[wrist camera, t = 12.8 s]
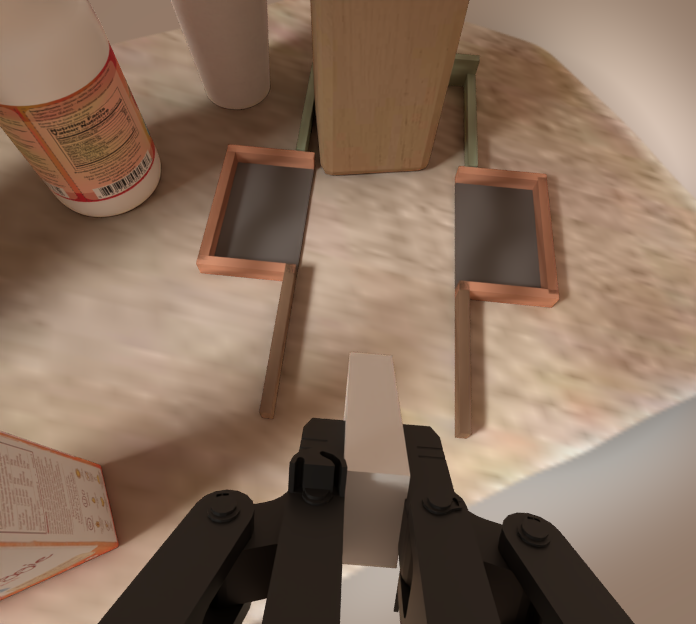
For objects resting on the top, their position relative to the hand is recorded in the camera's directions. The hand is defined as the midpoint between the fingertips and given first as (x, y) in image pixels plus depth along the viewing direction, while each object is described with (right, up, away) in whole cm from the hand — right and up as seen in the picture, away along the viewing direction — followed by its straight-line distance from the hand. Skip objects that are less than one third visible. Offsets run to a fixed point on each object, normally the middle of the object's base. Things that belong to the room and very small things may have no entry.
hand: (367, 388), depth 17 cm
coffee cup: (-12, +25, +32) cm, 43 cm away
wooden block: (+1, +19, +30) cm, 35 cm away
